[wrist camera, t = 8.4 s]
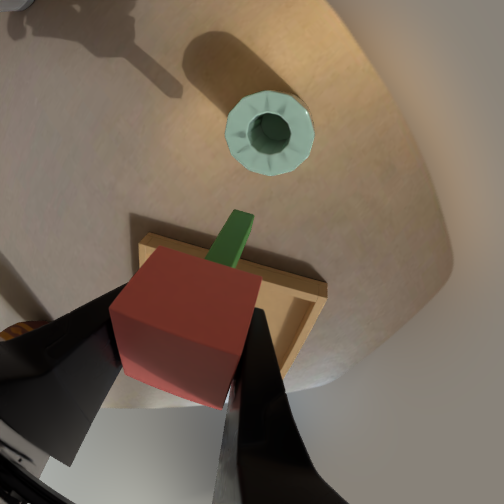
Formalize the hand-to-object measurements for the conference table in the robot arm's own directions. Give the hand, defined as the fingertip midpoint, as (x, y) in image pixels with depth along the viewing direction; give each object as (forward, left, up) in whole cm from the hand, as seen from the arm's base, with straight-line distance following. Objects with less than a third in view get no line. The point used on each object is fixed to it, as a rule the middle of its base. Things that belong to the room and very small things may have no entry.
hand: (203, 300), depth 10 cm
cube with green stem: (0, 0, -6) cm, 6 cm away
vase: (0, -4, -13) cm, 14 cm away
